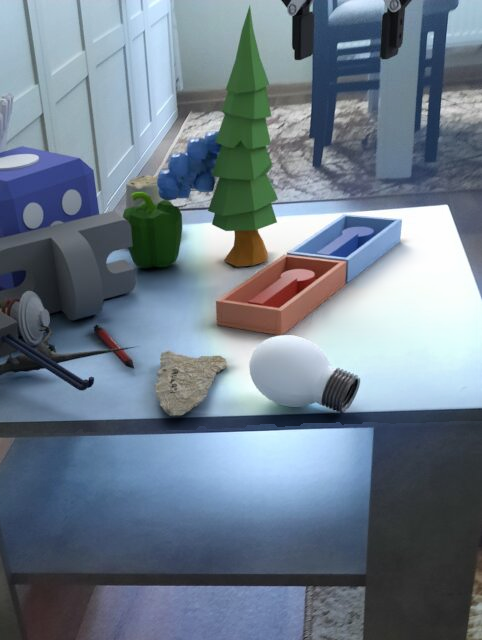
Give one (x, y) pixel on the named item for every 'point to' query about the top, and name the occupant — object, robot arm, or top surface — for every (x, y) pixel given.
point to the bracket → (70, 264)
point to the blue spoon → (348, 242)
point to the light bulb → (300, 374)
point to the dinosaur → (28, 364)
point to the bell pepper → (154, 232)
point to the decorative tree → (244, 156)
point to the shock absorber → (27, 316)
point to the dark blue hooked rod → (34, 353)
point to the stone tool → (185, 380)
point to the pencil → (113, 346)
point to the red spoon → (284, 288)
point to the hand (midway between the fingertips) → (345, 57)
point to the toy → (39, 189)
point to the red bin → (279, 320)
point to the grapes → (190, 169)
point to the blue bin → (359, 260)
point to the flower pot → (142, 190)
